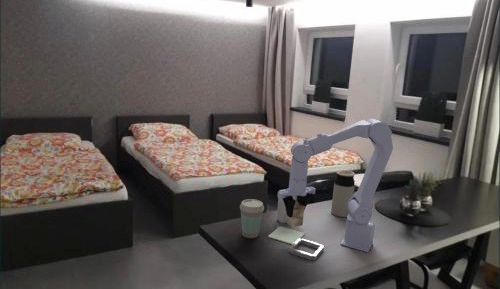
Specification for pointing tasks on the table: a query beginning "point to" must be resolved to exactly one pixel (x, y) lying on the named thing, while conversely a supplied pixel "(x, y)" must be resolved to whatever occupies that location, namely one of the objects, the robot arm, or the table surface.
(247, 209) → the coffee cup
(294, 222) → the maple peg
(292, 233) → the pad
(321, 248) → the metal collar
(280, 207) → the skincare box
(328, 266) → the table surface
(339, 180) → the travel mug
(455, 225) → the table surface
